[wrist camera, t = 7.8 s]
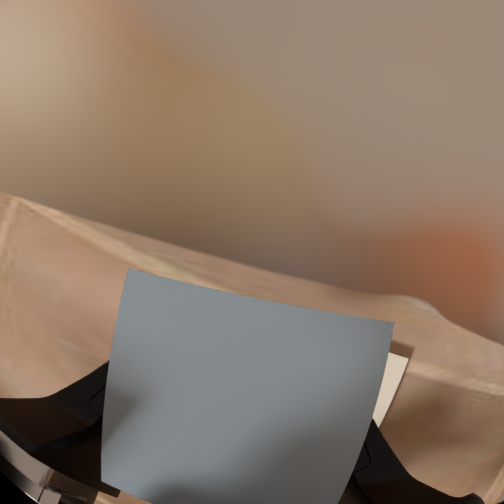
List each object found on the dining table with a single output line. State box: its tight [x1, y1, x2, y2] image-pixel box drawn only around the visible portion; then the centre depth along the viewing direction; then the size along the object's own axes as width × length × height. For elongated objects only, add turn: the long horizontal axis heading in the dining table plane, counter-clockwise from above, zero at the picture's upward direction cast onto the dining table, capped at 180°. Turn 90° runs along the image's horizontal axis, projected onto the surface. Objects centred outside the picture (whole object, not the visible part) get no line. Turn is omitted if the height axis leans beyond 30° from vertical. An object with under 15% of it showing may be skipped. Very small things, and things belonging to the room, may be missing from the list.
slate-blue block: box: [101, 268, 394, 504], centre depth 9 cm, size 5×5×11 cm
